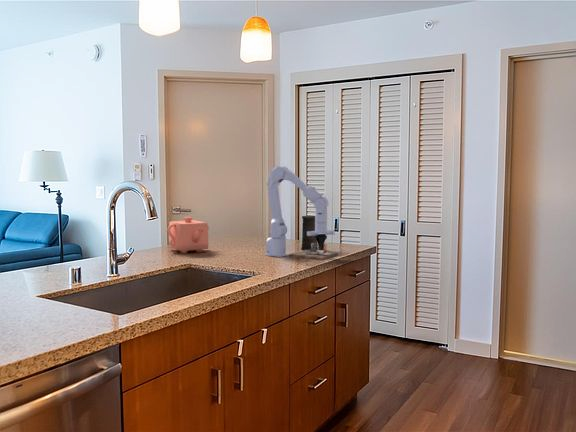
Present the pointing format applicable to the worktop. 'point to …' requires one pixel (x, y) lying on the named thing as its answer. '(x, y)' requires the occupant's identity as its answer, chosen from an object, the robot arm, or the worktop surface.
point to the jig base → (312, 256)
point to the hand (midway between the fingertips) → (320, 250)
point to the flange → (319, 251)
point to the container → (308, 226)
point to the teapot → (188, 235)
